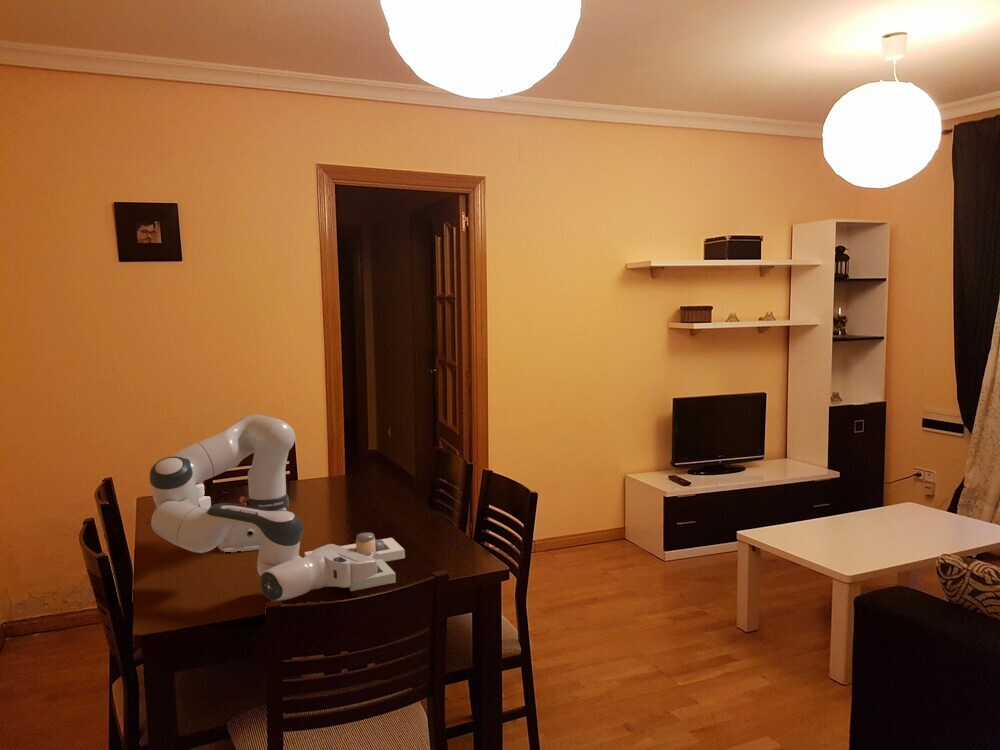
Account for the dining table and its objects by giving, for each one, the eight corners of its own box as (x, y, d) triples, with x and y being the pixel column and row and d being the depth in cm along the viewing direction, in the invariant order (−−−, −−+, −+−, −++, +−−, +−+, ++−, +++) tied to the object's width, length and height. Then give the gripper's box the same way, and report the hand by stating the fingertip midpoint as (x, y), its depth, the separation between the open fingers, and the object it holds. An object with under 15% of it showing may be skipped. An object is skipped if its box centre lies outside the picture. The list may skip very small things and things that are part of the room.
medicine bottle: (180, 520, 247) (178, 485, 245) (196, 514, 253) (194, 480, 252) (196, 522, 244) (194, 487, 243) (212, 516, 250) (210, 482, 249)
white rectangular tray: (313, 574, 195) (313, 560, 195) (304, 560, 206) (304, 547, 206) (405, 558, 207) (404, 544, 206) (392, 545, 217) (391, 532, 217)
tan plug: (360, 584, 188) (358, 539, 187) (355, 577, 193) (353, 534, 192) (379, 580, 191) (377, 536, 189) (373, 574, 195) (371, 531, 194)
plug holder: (350, 591, 184) (350, 581, 183) (339, 575, 194) (338, 566, 194) (395, 582, 189) (395, 573, 189) (382, 567, 200) (381, 558, 199)
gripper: (302, 569, 189) (345, 555, 199) (349, 589, 175) (393, 573, 185) (301, 546, 188) (344, 533, 198) (348, 564, 174) (393, 549, 185)
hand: (368, 552), depth 192 cm, fingers open, 5 cm apart
